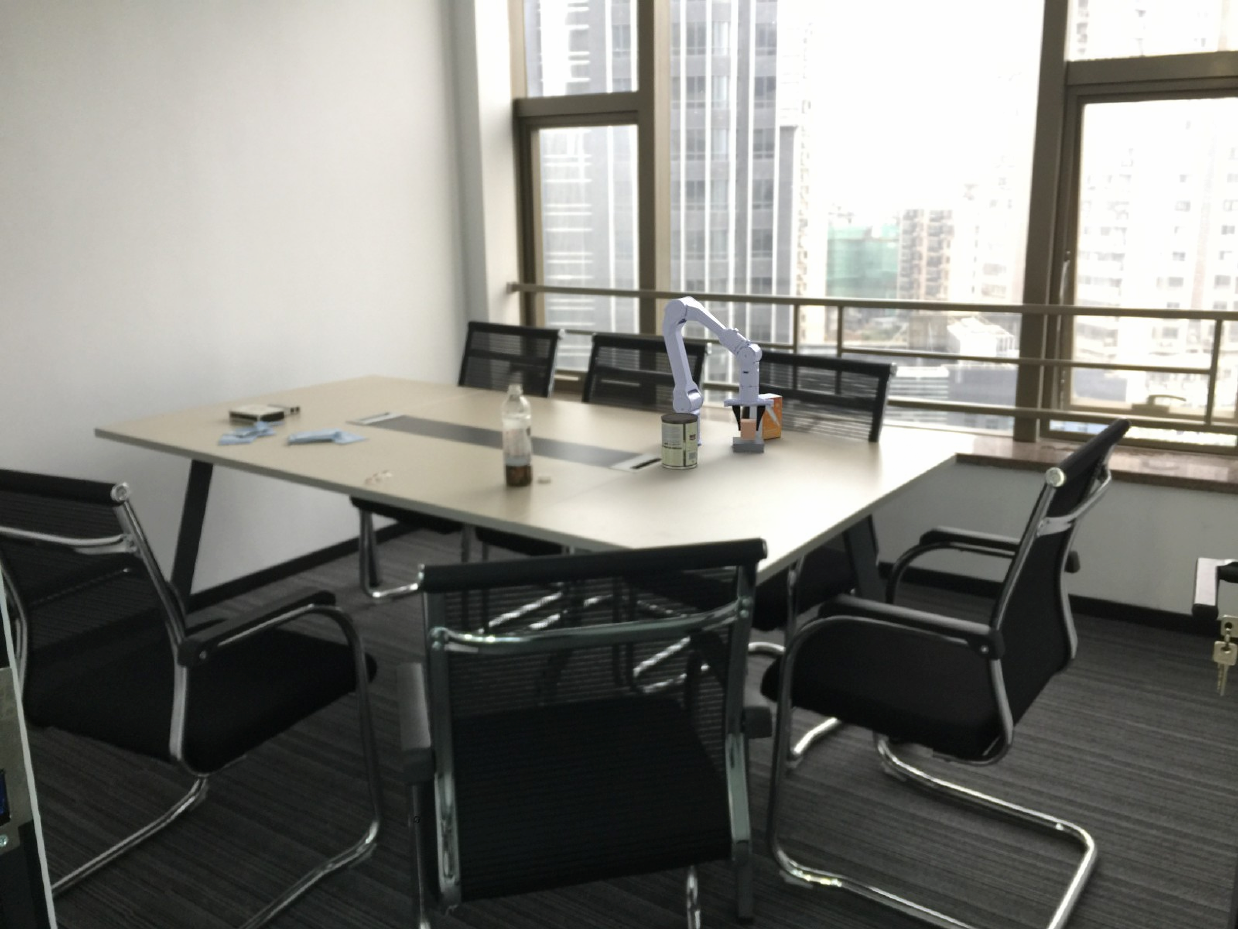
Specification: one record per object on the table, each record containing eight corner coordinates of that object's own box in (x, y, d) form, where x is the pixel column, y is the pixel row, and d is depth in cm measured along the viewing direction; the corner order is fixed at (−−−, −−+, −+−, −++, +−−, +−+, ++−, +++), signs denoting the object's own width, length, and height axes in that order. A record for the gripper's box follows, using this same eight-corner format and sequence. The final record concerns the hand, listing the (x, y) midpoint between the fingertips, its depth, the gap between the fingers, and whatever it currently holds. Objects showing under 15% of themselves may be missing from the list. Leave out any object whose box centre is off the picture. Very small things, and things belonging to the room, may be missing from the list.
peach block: (740, 438, 317) (740, 422, 315) (740, 435, 321) (740, 418, 320) (755, 439, 316) (756, 422, 315) (755, 435, 320) (756, 419, 319)
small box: (762, 440, 330) (762, 398, 327) (748, 436, 335) (749, 395, 332) (781, 436, 334) (782, 395, 331) (768, 433, 339) (769, 392, 336)
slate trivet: (733, 453, 316) (733, 443, 315) (732, 446, 325) (732, 436, 324) (763, 453, 315) (764, 443, 314) (762, 446, 324) (762, 437, 323)
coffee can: (667, 459, 308) (667, 411, 305) (701, 461, 305) (702, 413, 302) (656, 468, 299) (656, 418, 295) (692, 470, 296) (692, 420, 292)
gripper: (724, 387, 312) (724, 433, 315) (774, 387, 310) (773, 433, 314) (724, 383, 318) (723, 427, 322) (773, 383, 317) (772, 428, 321)
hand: (748, 430), depth 318 cm, fingers closed on peach block, 4 cm apart
